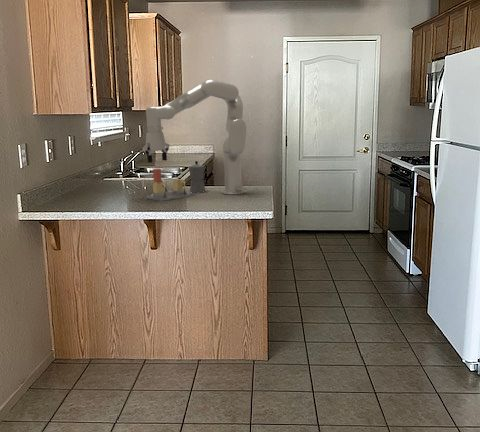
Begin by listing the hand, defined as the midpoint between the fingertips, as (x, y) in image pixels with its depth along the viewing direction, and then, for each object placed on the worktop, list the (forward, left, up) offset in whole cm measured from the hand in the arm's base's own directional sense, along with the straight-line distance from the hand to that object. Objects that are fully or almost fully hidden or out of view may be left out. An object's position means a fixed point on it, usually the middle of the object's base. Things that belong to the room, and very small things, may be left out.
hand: (157, 161), depth 299 cm
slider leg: (-2, +1, -19) cm, 19 cm away
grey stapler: (+15, -13, -21) cm, 29 cm away
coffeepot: (+1, -28, -21) cm, 35 cm away
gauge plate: (-2, -6, -20) cm, 21 cm away
